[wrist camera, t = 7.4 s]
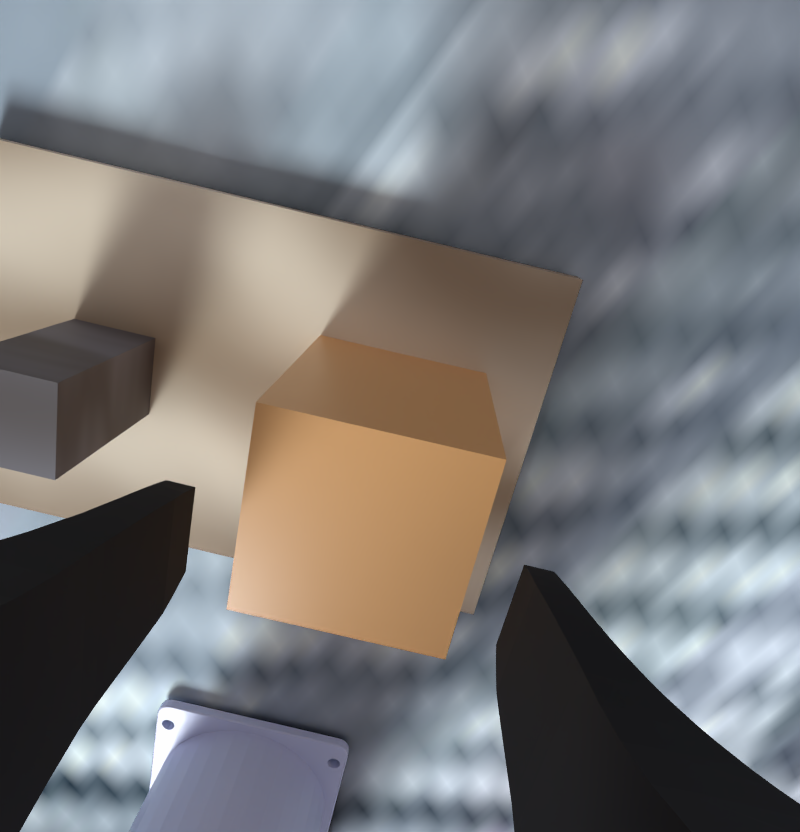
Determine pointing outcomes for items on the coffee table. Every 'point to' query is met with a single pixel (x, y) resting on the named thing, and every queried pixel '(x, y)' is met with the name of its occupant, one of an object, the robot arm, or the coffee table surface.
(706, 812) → the robot arm
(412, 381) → the orange rectangular block
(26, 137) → the coffee table surface
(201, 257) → the post board
